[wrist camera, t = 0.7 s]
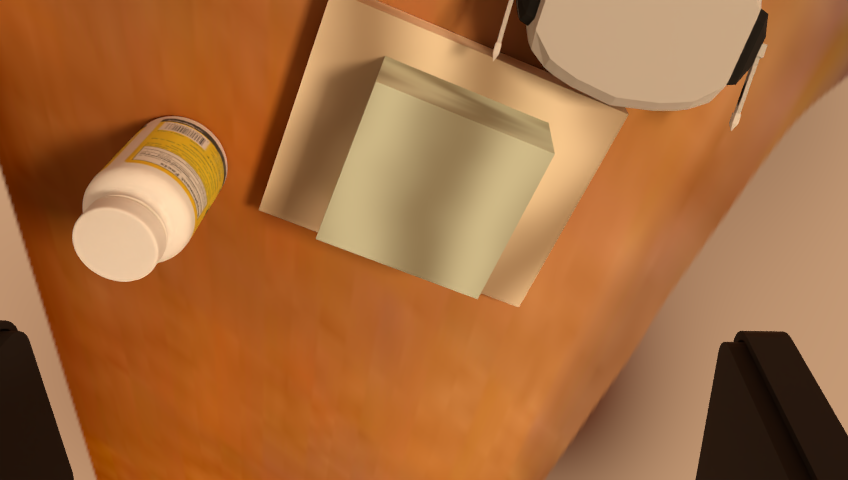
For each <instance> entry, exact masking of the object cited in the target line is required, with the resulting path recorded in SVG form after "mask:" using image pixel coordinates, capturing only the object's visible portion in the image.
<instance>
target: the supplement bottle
mask: <svg viewBox="0 0 848 480" xmlns="http://www.w3.org/2000/svg"><path fill="white" fill-rule="evenodd" d="M226 176H227V159H226V155H225V152H224V149H223V147H222V145H221V144H220V142H219V140H218V139H217V138H216V136H215V135H214V134H213V133H212V132H211V131H210V130H208V129H207V128H206V127H205V126H203V125H201V124H200V123H198V122H196V121H194V120H191V119H188V118H185V117H179V116H167V117H161V118H158V119H155V120H153V121H151V122H149V123H148V124H146V125H145V126H144V127H143V128H141V129H140V130H139V131H138V132H137V133H136V134H135V135H134V136H133V137H132V138H131V139H130V140H129V142H128V143H127V144H126V145H125V146H124V147H123V148H122V149H121V150H120V151H119V152H118V153H117V154H116V155H115V156H114V157H113V158H112V159H111V160H110V161H109V162H108V163H107V165H106V166H105V167H104V168H103V169H102V170H101V171H100V172H99V173H98V174H97V175H96V176H95V177H94V178H93V180H92V181H91V182H90V184H89V185H88V187H87V189H86V191H85V194H84V198H83V214H82V215H81V216H80V217H79V218H78V220H77V221H76V223H75V225H74V228H73V233H72V240H73V245H74V248H75V251H76V253H77V255H78V256H79V258H80V259H81V261H82V262H83V263H84V264H85V265H86V266H87V267H88V268H89V269H91V270H92V271H93V272H95V273H96V274H98V275H100V276H102V277H104V278H107V279H110V280H114V281H122V282H128V281H134V280H138V279H141V278H143V277H145V276H146V275H148V274H149V273H150V272H151V271H152V270H153V269H154V267H155V266H156V264H157V263H159V262H163V261H166V260H168V259H170V258H172V257H174V256H175V255H177V254H178V253H179V252H180V251H181V250H182V249H183V248H184V247H185V246H186V244H187V243H188V242H189V241H190V239H191V237H192V236H193V234H194V232H195V231H196V229H197V227H198V226H199V224H200V223H201V221H202V219H203V218H204V216H205V215H206V213H207V211H208V210H209V208H210V206H211V205H212V203H213V202H214V200H215V198H216V197H217V195H218V193H219V192H220V190H221V188H222V186H223V184H224V182H225V179H226Z"/></svg>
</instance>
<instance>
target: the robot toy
mask: <svg viewBox="0 0 848 480" xmlns="http://www.w3.org/2000/svg"><path fill="white" fill-rule="evenodd" d="M513 1H514V0H509V1H508V4H507V8H506V11H505V15H504V18H503V21H502V25H501V28H500V32H499V35H498V39H497V42H496V43H495V46H494V49H493V52H492V55H493V61H494V60H495V59H496V57H497V56H498V55H499V52H500V49H501V45H502V44H501V42H502V38H503V35H504V31H505V28H506V25H507V21H508V18H509V14H510V11H511V7H512V4H513ZM761 2H762V0H516V4H517V13H518V17H519V20H520V21H522V22H523V23H524V24H526V29H527V37H528V43H529V45H530V48H531V50H532V51H533V53H534V54H535V56H536V57H537V58H538V60H539V61H540V62H541V64H542V65H543V67H544V68H546V69H547V70H548V71H549V72H550V73H551V74H553V75H554V76H555V77H557V78H559V79H560V80H562V81H563V82H565V83H566V84H568V85H569V86H571V87H573V88H575V89H577V90H579V91H581V92H583V93H585V94H587V95H590V96H592V97H594V98H596V99H598V100H600V101H602V102H604V103H606V104H608V105H612V106H620V107H628V108H636V109H644V110H651V111H678V110H687V109H690V108H693V107H697V106H700V105H703V104H706V103H709V102H710V101H711V100H712V99H713V98H714V97H715V96H716V95H717V94H718V93H719V92H720V91H721V90H722V89H723V88H724V87H725V86H726V85H736V83H737V82H738V81H739V80H740V79H741V78H742V76H743V75H744V74H745V73H746V72H747V71H748V70H749V71H748V74H747V77H746V80H745V83H744V86H743V88H742V91H741V94H740V97H739V100H738V103H737V106H736V108H735V111H734V113H732V116H731V119H730V122H729V124H730V130H731V131H732V130H733V129H734V128H735V127H736V126H737V125H738V123H739V120H740V117H741V114H740V113H741V110H742V107H743V105H744V102H745V99H746V96H747V93H748V90H749V88H750V85H751V82H752V79H753V76H754V73H755V70H756V68H757V65H758V62H759V59H760V58H763V57H764V54H765V51H766V48H767V45H766V44H763V42H764V39H765V37H766V28H767V19H768V14H767V13H766V12H765V11H764V10H762V9H761Z"/></svg>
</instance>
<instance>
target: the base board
mask: <svg viewBox="0 0 848 480" xmlns="http://www.w3.org/2000/svg"><path fill="white" fill-rule="evenodd" d="M492 52H493V49H491V48H489V47H486V46H484V45H482V44H479V43H477V42H475V41H472V40H470V39H467V38H465V37H463V36H460V35H458V34H455V33H453V32H451V31H448V30H446V29H444V28H441V27H439V26H436V25H434V24H432V23H429V22H427V21H425V20H422V19H420V18H417V17H415V16H413V15H410V14H408V13H405V12H403V11H401V10H398V9H396V8H394V7H391V6H389V5H386V4H384V3H382V2H379V1H377V0H328V3H327V6H326V9H325V12H324V15H323V18H322V21H321V24H320V27H319V30H318V33H317V36H316V39H315V42H314V45H313V48H312V51H311V54H310V57H309V60H308V63H307V66H306V69H305V72H304V75H303V78H302V81H301V84H300V87H299V90H298V93H297V96H296V99H295V102H294V105H293V108H292V111H291V114H290V117H289V120H288V123H287V126H286V129H285V132H284V135H283V138H282V141H281V144H280V147H279V150H278V153H277V156H276V159H275V162H274V165H273V168H272V172H271V175H270V178H269V181H268V184H267V187H266V190H265V193H264V196H263V199H262V202H261V205H260V208H259V210H260V211H262V212H265V213H268V214H270V215H273V216H276V217H278V218H281V219H284V220H286V221H289V222H292V223H294V224H297V225H300V226H302V227H305V228H308V229H310V230H313V231H316V232H318V234H317V236H316V239H317V240H320V241H323V242H325V243H328V244H331V245H333V246H336V247H339V248H341V249H344V250H347V251H349V252H352V253H355V254H357V255H360V256H363V257H365V258H368V259H371V260H374V261H376V262H379V263H382V264H384V265H387V266H390V267H392V268H395V269H398V270H400V271H403V272H406V273H408V274H411V275H414V276H416V277H419V278H422V279H424V280H427V281H430V282H433V283H435V284H438V285H441V286H443V287H446V288H449V289H451V290H454V291H457V292H459V293H462V294H465V295H467V296H470V297H473V298H475V299H478V298H479V296H480V294H484V295H487V296H489V297H492V298H495V299H498V300H500V301H503V302H506V303H508V304H511V305H514V306H516V307H519V306H520V304H521V303H522V301H523V299H524V297H525V296H526V294H527V292H528V290H529V289H530V287H531V285H532V283H533V282H534V280H535V278H536V276H537V275H538V273H539V271H540V269H541V268H542V266H543V264H544V262H545V260H546V259H547V257H548V255H549V253H550V252H551V250H552V248H553V246H554V245H555V243H556V241H557V239H558V238H559V236H560V234H561V232H562V231H563V229H564V227H565V225H566V224H567V222H568V220H569V218H570V217H571V215H572V213H573V211H574V210H575V208H576V206H577V204H578V202H579V201H580V199H581V197H582V195H583V194H584V192H585V190H586V188H587V187H588V185H589V183H590V181H591V180H592V178H593V176H594V174H595V173H596V171H597V169H598V167H599V166H600V164H601V162H602V160H603V159H604V157H605V155H606V153H607V151H608V150H609V148H610V146H611V144H612V143H613V141H614V139H615V137H616V136H617V134H618V132H619V130H620V129H621V127H622V125H623V123H624V122H625V120H626V118H627V116H628V115H629V114H628V112H627V110H626V108H625V107H620V106H612V105H608V104H606V103H604V102H602V101H600V100H598V99H596V98H594V97H592V96H590V95H587V94H585V93H583V92H581V91H579V90H577V89H575V88H573V87H571V86H569V85H568V84H566V83H565V82H563V81H562V80H560V79H559V78H557V77H555V76H554V75H553V74H551V73H548V72H546V71H544V70H541V69H539V68H536V67H534V66H532V65H529V64H527V63H524V62H522V61H520V60H517V59H515V58H513V57H510V56H508V55H505V54H503V53H501V52H499V55H498V56H497V57H496V59H495V60H494V61H493V55H492Z"/></svg>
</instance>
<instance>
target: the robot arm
mask: <svg viewBox="0 0 848 480" xmlns="http://www.w3.org/2000/svg"><path fill="white" fill-rule="evenodd" d="M0 480H74V478H73V472H72V469H71V466H70V464H69V460H68V457H67V454H66V451H65V448H64V445H63V442H62V439H61V436H60V433H59V430H58V427H57V424H56V420H55V418H54V414H53V411H52V408H51V405H50V402H49V399H48V397H47V393H46V390H45V387H44V384H43V381H42V378H41V375H40V372H39V369H38V366H37V362H36V360H35V356H34V354H33V350H32V347H31V344H30V341H29V339H28V337H27V335H26V334H24V332H20V331H18V330H17V328H16V326H15V325H14V324H13V323H11V322H9V321H2V320H0ZM696 480H848V435H847V434H846V432H845V430H844V428H843V427H842V425H841V423H840V422H839V420H838V418H837V416H836V415H835V413H834V411H833V409H832V408H831V406H830V405H829V403H828V401H827V399H826V398H825V396H824V394H823V392H822V390H821V389H820V387H819V386H818V384H817V382H816V380H815V378H814V377H813V375H812V373H811V371H810V370H809V368H808V366H807V365H806V363H805V361H804V360H803V358H802V356H801V354H800V353H799V351H798V349H797V347H796V346H795V344H794V342H793V341H792V339H791V337H790V336H789V335H788V334H787V333H785V332H774V331H773V332H772V331H769V332H768V331H740V332H738V333H737V334H736V336H735V338H734V342H723V343H722V344H721V346H720V348H719V352H718V358H717V364H716V369H715V374H714V380H713V386H712V392H711V397H710V402H709V408H708V414H707V419H706V425H705V430H704V436H703V442H702V447H701V452H700V458H699V464H698V469H697V475H696Z"/></svg>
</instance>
